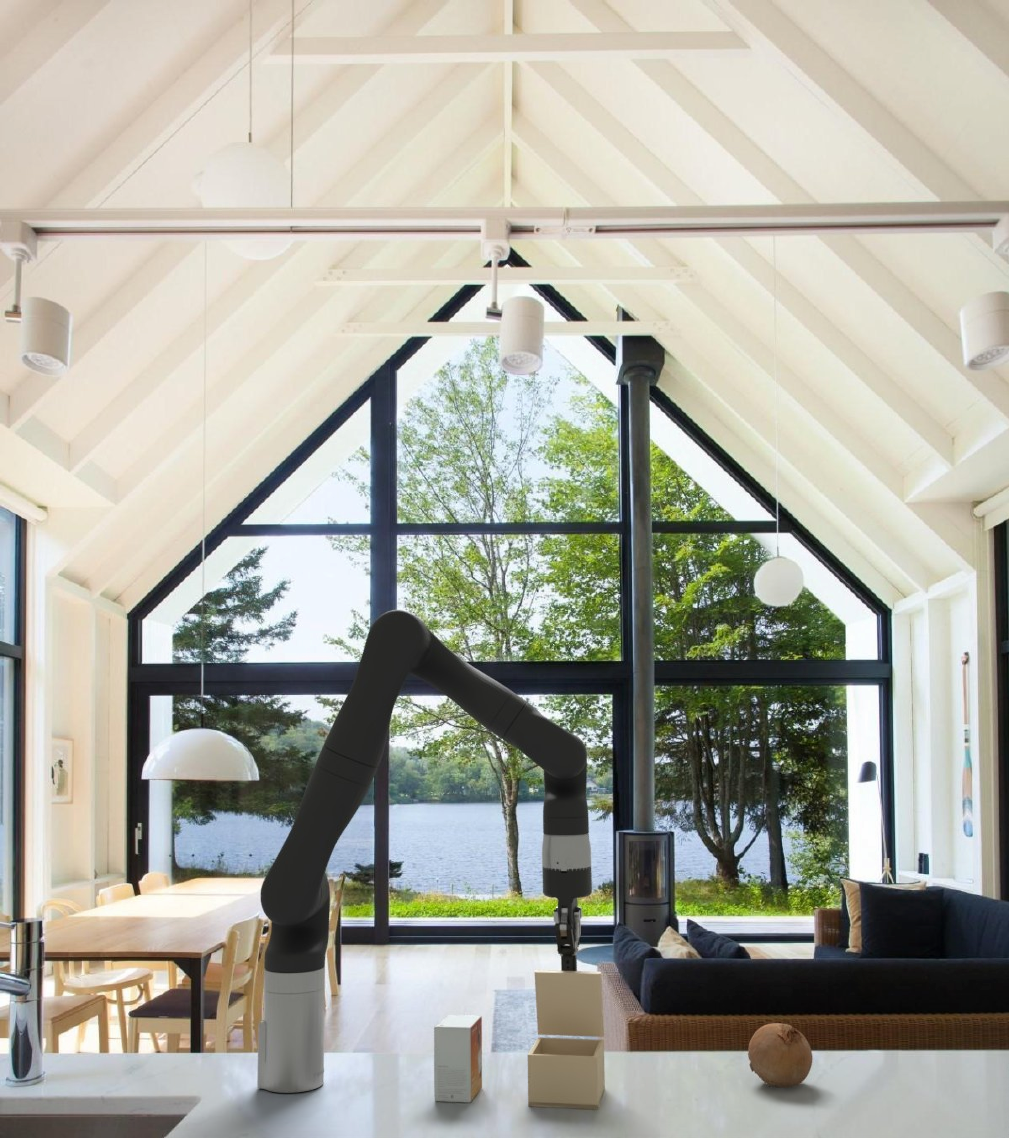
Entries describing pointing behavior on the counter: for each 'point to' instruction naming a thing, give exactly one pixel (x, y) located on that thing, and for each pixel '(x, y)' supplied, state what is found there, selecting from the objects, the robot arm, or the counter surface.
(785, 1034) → the onion
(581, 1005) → the lid
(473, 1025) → the small box
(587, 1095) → the carton
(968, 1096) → the counter surface
